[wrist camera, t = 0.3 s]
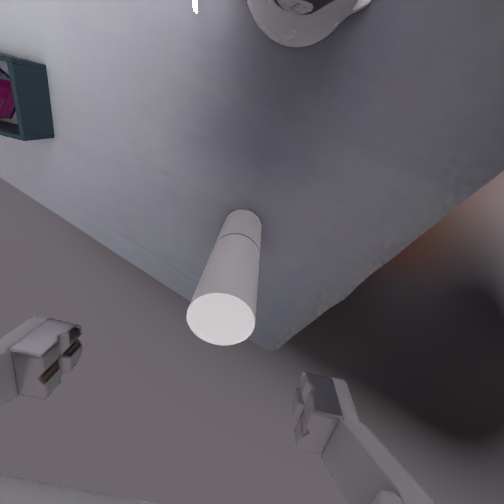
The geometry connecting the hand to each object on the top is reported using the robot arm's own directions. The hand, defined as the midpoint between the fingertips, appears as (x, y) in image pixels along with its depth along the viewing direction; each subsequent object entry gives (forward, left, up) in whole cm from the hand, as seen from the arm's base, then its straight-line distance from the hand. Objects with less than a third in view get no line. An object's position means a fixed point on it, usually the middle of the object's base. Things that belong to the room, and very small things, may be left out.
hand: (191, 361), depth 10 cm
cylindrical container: (+11, +1, -39) cm, 41 cm away
